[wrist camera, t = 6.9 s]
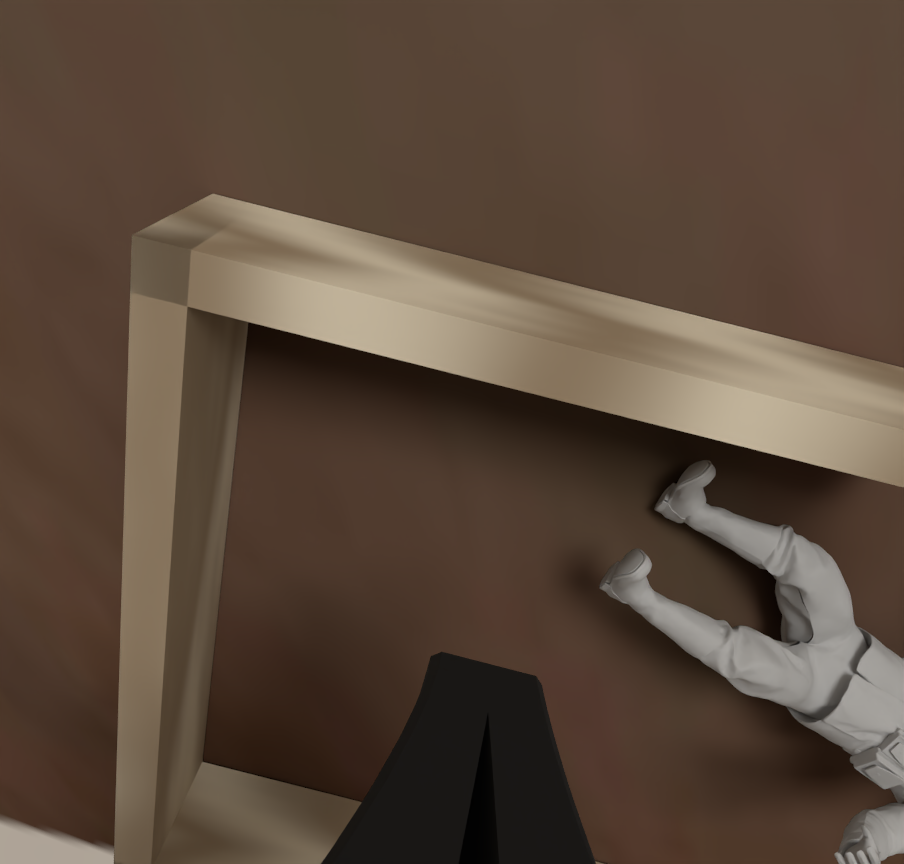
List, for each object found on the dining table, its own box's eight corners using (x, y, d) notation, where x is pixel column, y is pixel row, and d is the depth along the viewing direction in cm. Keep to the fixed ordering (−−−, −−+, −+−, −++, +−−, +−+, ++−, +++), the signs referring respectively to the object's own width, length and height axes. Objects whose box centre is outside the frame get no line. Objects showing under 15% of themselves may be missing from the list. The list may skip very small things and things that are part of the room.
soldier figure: (773, 353, 18) (1287, 710, 16) (691, 430, 22) (1084, 714, 20) (572, 638, 15) (1158, 1102, 13) (527, 659, 20) (959, 1007, 18)
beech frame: (168, 775, 25) (112, 883, 22) (212, 193, 16) (132, 235, 13) (641, 894, 25) (652, 1020, 22) (931, 375, 16) (1017, 458, 13)
